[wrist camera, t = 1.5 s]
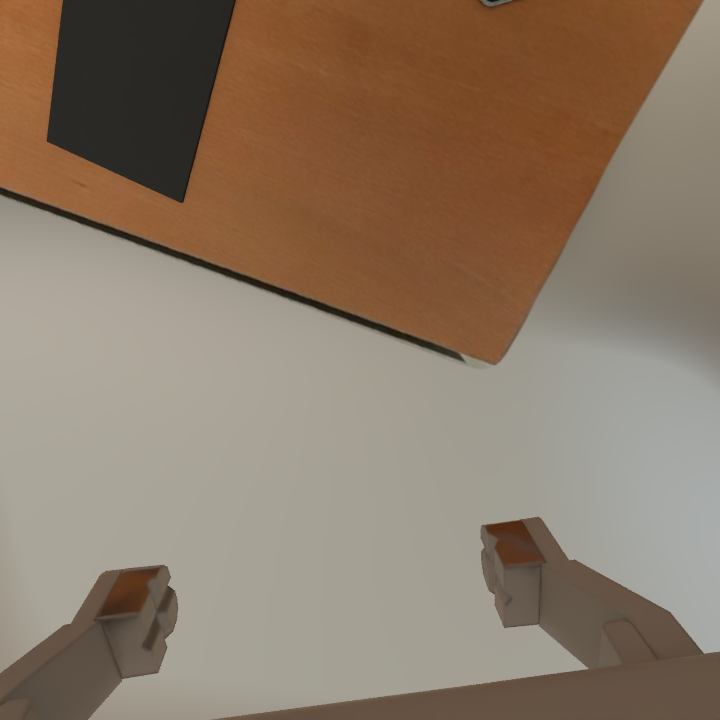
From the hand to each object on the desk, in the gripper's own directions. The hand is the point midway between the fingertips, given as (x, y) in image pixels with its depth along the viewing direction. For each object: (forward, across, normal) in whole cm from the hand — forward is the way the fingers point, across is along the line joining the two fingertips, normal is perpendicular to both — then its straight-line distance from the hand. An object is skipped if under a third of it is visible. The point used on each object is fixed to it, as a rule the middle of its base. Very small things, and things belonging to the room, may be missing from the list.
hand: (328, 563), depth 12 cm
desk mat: (+42, +15, -22) cm, 50 cm away
